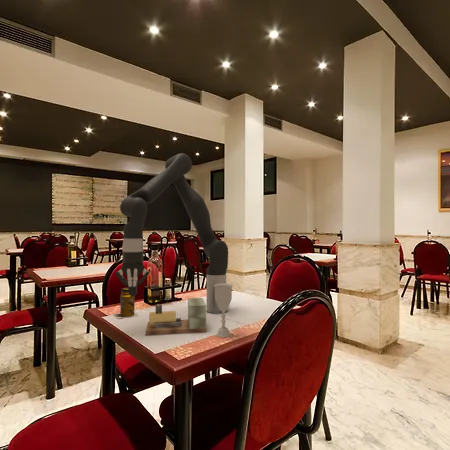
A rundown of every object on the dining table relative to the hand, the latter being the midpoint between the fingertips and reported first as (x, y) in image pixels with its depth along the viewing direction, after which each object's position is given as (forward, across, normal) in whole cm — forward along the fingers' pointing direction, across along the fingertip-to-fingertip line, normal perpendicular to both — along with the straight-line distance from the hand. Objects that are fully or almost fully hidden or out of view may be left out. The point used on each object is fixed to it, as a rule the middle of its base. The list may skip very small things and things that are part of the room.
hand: (132, 296), depth 116 cm
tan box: (+11, -11, 0) cm, 16 cm away
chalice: (+13, -33, +10) cm, 37 cm away
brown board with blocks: (+13, -16, 0) cm, 21 cm away
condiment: (+14, +6, -22) cm, 26 cm away
